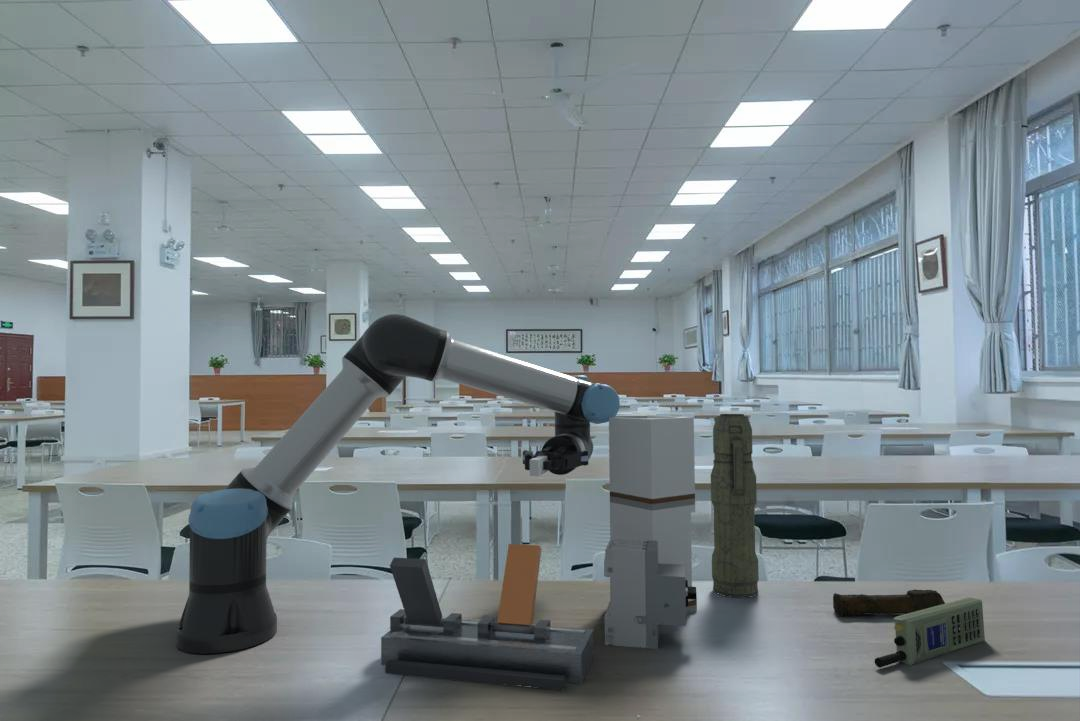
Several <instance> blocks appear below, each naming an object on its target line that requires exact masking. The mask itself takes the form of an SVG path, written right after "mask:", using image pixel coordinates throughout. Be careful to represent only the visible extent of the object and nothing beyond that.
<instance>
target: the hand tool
mask: <svg viewBox="0 0 1080 721" xmlns="http://www.w3.org/2000/svg"><path fill="white" fill-rule="evenodd" d="M832 604H833V605H832V606H833V611H834V613H835V614H836V615H837V616H838V617H840V618H841V617H843V616H848V617H851V616H852V615H904V614H908V613H912V612H916V611H919V610H923V609H927V608H931V607H934V606H938V605H942V604H946V602H945V601H944V599H943V597H942V595H941V593H939V592H938V591H937V590H932V589H910V590H907V592H906V593H905V594H871V595H870V594H869V595H868V594H863V593H861V594H839V593H837V592H834V593H833V596H832Z"/></svg>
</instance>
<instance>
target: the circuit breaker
mask: <svg viewBox="0 0 1080 721" xmlns="http://www.w3.org/2000/svg"><path fill="white" fill-rule="evenodd" d="M603 560H604V561H603V565H604V566H603V576H604V577H605V578H609V601H608V602H609V603H608V604H607V607H606V609H605V610H606V611H605V614H604V645H605V646H609V644H611V645H613V646H614V647H627V648H628V647H629V648H640V647H641V648H642V649H658V646H659V636H660V635H659V633H660V625H664V626H681V627H683V626H684V627H686V626H687V614H686V606H688V599H696V600H697V601H698V599H697V598H698V597H697V596H698V595H697V587H696V586H692V587H688V580H685V565H681V564H660V563H658V541H650V540H622V539H617V540H612V539H610V538H609V541H608V543H607V546H606V548H605V553H604V559H603ZM611 645H610V646H611Z"/></svg>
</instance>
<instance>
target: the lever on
mask: <svg viewBox="0 0 1080 721" xmlns="http://www.w3.org/2000/svg"><path fill="white" fill-rule="evenodd" d="M389 567H390V571H391V574H392V577H393V580H394V583H395V585H396V589H397V593H398V595H399V598H400V601H401V604H402V607H403V609H404V611H405V614H406V619H405V624H407V625H420V626H432V627H443V620H444V619H442V618H443V614H442V610H441V607H440V604H439V600H438V597H437V592H436V589H435V587H434V583H433V579H432V577H431V573H430V568H429V565H428V562H427V559H425V558H411V557H410V558H409V557H393V559H392V561H391V562H390V565H389Z"/></svg>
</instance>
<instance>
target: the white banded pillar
mask: <svg viewBox="0 0 1080 721" xmlns="http://www.w3.org/2000/svg"><path fill="white" fill-rule="evenodd" d="M694 420H695V418H694V417H693V416H675V415H674V416H672V415H671V416H670V415H647V416H646V418H644V417H643V418H642V417H641V418H638V417H623V416H622V417H619V416H618V417H617V416H615V417H610V418H609V422H608V453H609V455H608V456H609V458H608V460H609V461H608V463H609V464H608V465H609V469H608V470H609V532H610V533H609V536H610V537H609V540H610V539H612V540H617V539H622V540H650V541H658V563H660V564H681V565H685V580H688V587H693V579H692V578H693V576H692V574H693V573H692V572H693V569H692V568H693V566H692V562H693V561H692V560H693V559H692V514H693V513H696V484H695V483H696V482H695V481H696V479H695V478H696V477H695V476H696V475H695V471H696V470H695V466H696V465H695V421H694ZM697 602H698V599H697V600H696V599H688V606H686V615H687V614H691V613H695V612H697V611H698V605H697V604H698V603H697ZM694 611H695V612H694ZM690 612H691V613H690Z"/></svg>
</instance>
